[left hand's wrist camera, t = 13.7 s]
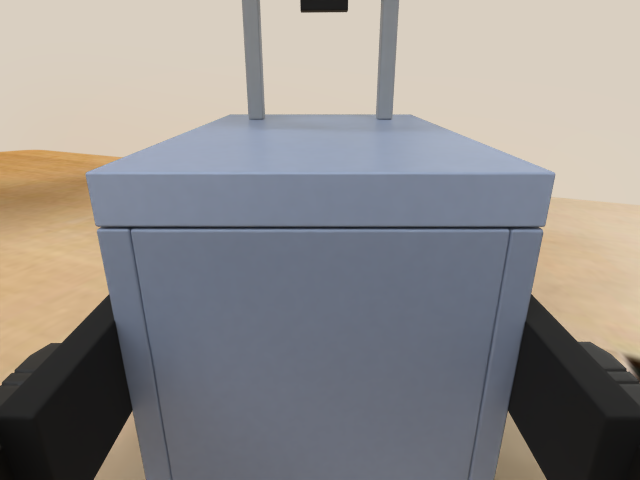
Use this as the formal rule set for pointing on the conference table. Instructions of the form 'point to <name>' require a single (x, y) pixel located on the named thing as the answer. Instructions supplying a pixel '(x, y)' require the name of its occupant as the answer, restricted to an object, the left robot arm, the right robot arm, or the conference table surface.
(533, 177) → the lid
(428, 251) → the chest
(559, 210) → the conference table surface
